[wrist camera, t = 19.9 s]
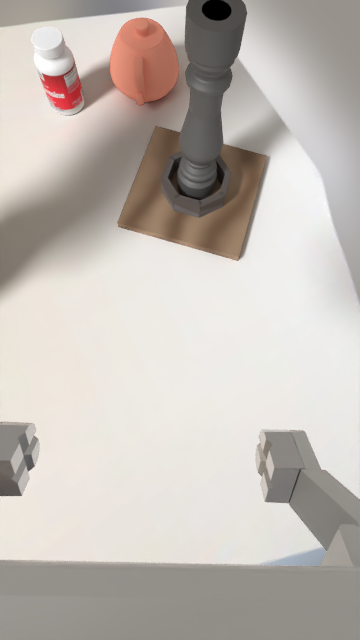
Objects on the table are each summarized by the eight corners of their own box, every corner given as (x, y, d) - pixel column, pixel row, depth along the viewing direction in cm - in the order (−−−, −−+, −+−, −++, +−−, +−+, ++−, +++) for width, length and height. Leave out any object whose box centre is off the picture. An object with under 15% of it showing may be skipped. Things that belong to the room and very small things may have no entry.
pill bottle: (43, 105, 60) (16, 39, 49) (67, 84, 61) (45, 16, 51) (69, 122, 59) (47, 59, 48) (92, 101, 60) (76, 35, 50)
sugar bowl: (181, 62, 64) (183, -1, 54) (174, 121, 60) (175, 64, 50) (117, 56, 64) (108, -9, 54) (106, 114, 60) (94, 56, 50)
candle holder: (207, 166, 56) (236, -19, 32) (219, 197, 55) (259, 27, 30) (172, 175, 55) (174, -7, 31) (183, 206, 54) (195, 40, 30)
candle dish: (118, 226, 54) (114, 211, 50) (156, 131, 59) (155, 111, 55) (237, 260, 53) (243, 248, 49) (265, 161, 58) (272, 142, 54)
